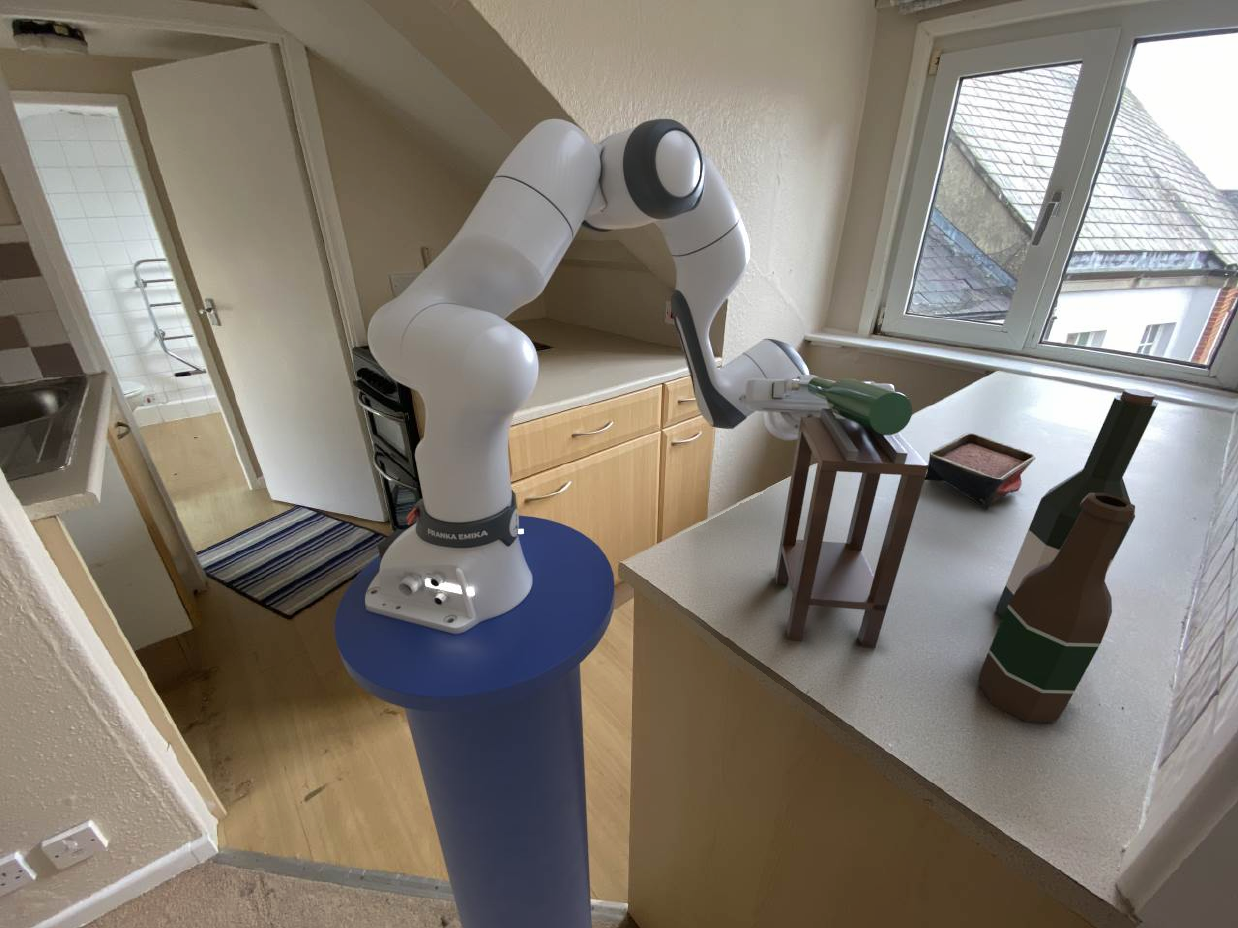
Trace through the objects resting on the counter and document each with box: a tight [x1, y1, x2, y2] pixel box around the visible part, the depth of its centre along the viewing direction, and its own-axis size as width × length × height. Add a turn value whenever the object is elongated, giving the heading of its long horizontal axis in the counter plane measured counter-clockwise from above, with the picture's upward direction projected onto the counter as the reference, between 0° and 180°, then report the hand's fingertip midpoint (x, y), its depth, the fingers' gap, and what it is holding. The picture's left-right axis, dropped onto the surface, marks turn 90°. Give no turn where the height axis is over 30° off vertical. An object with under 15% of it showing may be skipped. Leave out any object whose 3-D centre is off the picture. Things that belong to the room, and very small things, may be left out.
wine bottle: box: [994, 388, 1159, 620], centre depth 59 cm, size 8×8×30 cm
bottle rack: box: [774, 408, 928, 649], centre depth 62 cm, size 10×12×25 cm
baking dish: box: [924, 432, 1036, 511], centre depth 95 cm, size 14×18×10 cm
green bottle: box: [807, 376, 913, 435], centre depth 62 cm, size 18×4×4 cm, turn 3°
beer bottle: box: [977, 493, 1136, 724], centre depth 51 cm, size 8×8×24 cm
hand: (831, 385), depth 69 cm, fingers open, 8 cm apart
